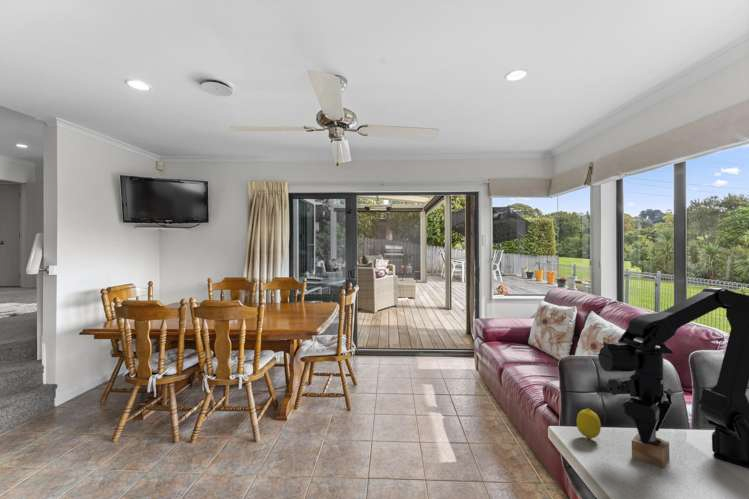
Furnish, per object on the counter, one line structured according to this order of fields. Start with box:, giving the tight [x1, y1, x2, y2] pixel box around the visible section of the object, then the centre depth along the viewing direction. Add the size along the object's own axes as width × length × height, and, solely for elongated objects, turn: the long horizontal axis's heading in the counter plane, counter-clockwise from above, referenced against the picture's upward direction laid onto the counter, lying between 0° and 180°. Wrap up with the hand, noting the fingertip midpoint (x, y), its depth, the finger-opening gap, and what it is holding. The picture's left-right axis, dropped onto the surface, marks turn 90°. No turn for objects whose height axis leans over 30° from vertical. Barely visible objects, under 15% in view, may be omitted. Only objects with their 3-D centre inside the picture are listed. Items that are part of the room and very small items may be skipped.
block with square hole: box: [631, 432, 670, 469], centre depth 86 cm, size 6×6×4 cm
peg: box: [648, 427, 657, 446], centre depth 86 cm, size 2×2×8 cm
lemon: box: [576, 408, 602, 440], centre depth 95 cm, size 6×6×8 cm
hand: (650, 436), depth 86 cm, fingers open, 9 cm apart
